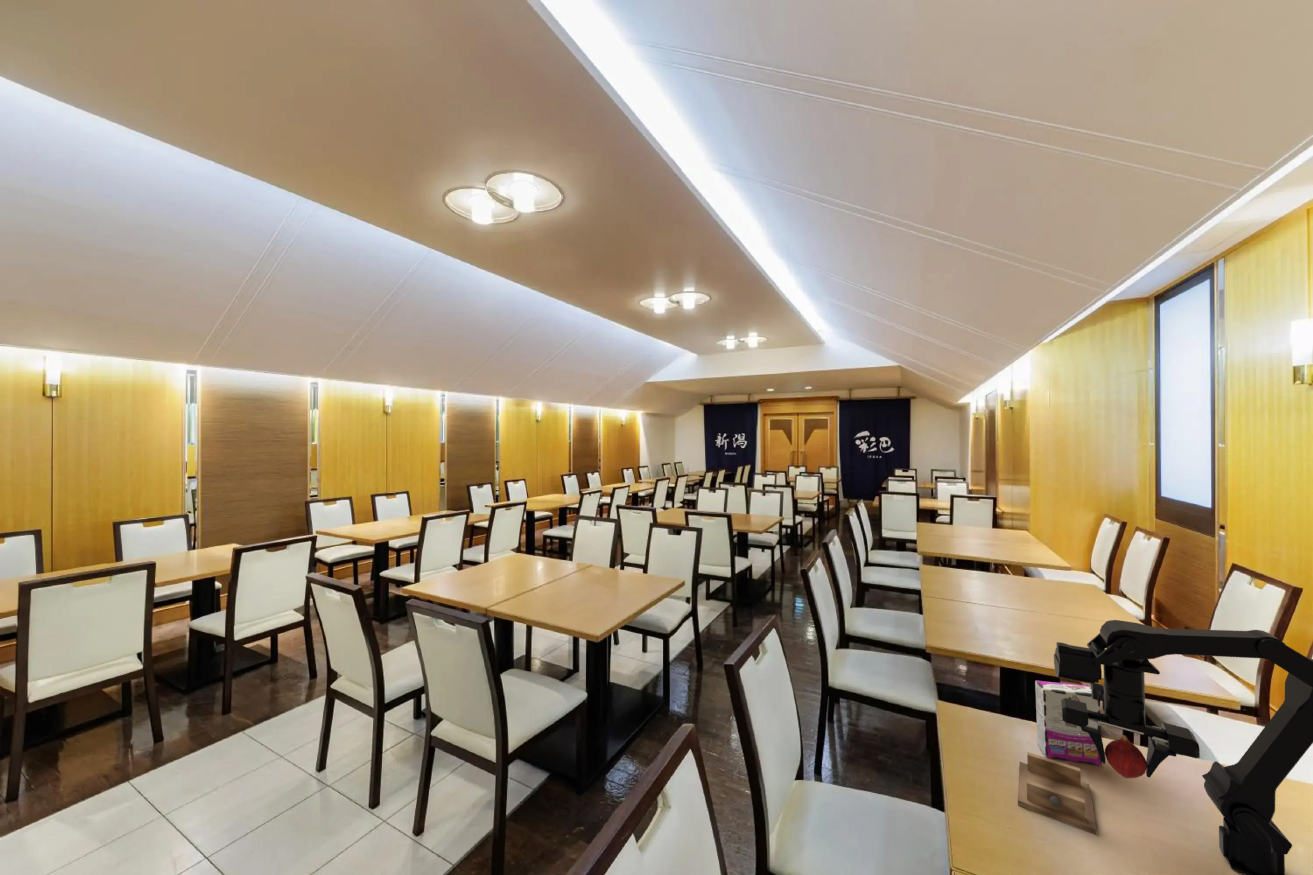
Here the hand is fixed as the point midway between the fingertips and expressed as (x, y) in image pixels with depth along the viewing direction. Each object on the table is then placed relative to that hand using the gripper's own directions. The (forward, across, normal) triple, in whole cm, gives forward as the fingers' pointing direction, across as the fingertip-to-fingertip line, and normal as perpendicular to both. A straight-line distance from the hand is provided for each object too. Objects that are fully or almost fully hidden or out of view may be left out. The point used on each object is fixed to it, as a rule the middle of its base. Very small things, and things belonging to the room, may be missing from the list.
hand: (1125, 769), depth 93 cm
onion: (+2, 0, 0) cm, 2 cm away
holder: (+11, +11, -2) cm, 16 cm away
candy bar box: (+12, +8, -21) cm, 25 cm away
